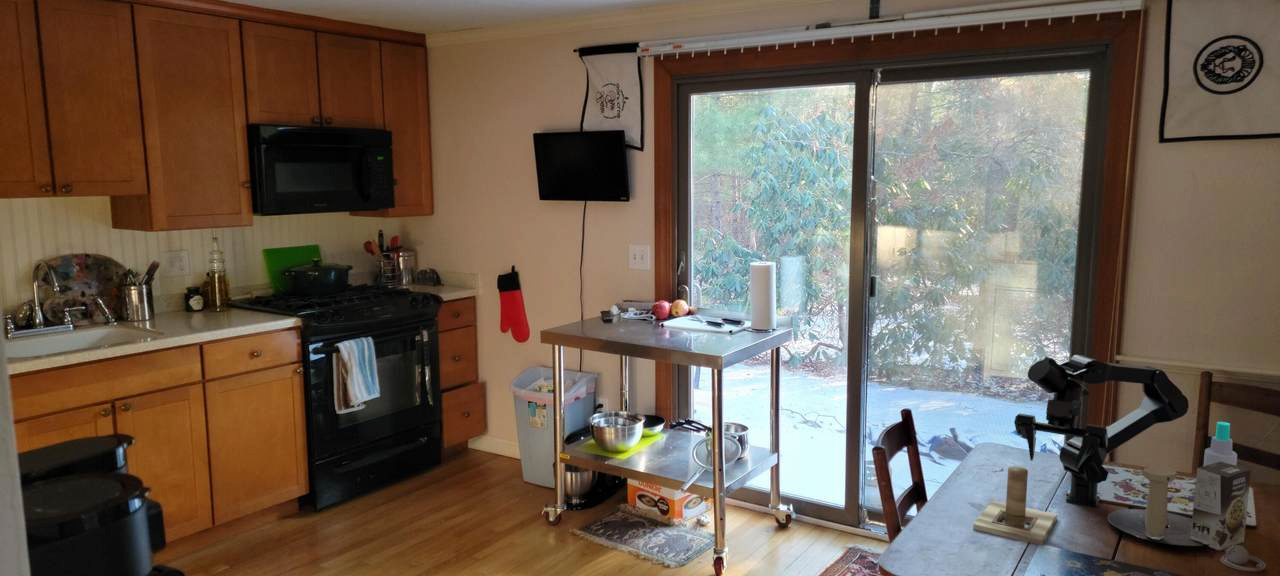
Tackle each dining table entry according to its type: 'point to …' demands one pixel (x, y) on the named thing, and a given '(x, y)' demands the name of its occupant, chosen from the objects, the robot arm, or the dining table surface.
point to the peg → (1016, 496)
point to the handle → (1157, 499)
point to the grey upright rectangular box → (1220, 504)
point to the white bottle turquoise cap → (1221, 447)
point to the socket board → (1034, 533)
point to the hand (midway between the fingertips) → (1053, 463)
